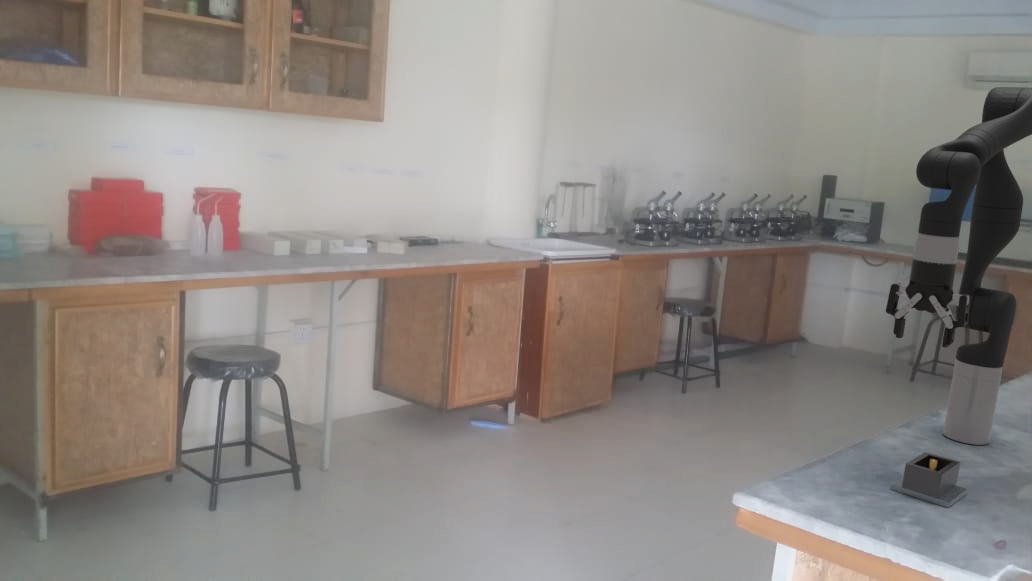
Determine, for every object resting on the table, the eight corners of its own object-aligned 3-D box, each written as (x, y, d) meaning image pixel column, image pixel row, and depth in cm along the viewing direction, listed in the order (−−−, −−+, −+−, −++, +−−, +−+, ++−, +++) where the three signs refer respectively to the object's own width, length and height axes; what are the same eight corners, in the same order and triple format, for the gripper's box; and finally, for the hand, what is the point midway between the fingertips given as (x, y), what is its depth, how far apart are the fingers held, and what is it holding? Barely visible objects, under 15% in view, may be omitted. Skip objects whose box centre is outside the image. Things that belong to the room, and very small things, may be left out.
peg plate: (910, 476, 168) (915, 446, 167) (966, 494, 162) (972, 462, 161) (890, 489, 161) (895, 457, 160) (948, 507, 154) (954, 475, 153)
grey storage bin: (921, 474, 167) (925, 452, 166) (956, 485, 163) (960, 462, 162) (901, 487, 160) (905, 463, 159) (937, 498, 156) (942, 474, 155)
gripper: (981, 262, 166) (967, 347, 169) (902, 251, 175) (891, 331, 178) (969, 266, 160) (955, 353, 163) (889, 254, 169) (877, 337, 172)
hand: (921, 342), depth 171 cm, fingers open, 8 cm apart
